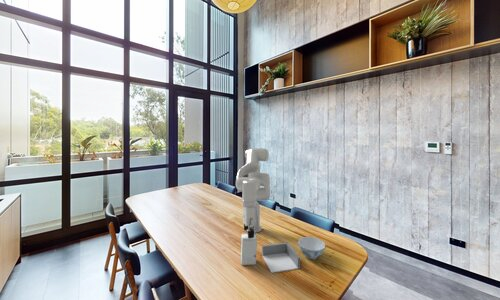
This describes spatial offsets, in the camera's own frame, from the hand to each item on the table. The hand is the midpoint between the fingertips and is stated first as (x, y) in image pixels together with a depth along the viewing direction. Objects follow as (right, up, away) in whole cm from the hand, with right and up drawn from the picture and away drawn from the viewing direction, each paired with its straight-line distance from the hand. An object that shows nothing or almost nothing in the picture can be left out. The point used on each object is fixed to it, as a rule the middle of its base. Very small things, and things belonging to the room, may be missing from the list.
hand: (248, 233), depth 111 cm
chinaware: (+37, -16, +8) cm, 41 cm away
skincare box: (0, -16, +2) cm, 16 cm away
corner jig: (+17, -16, +2) cm, 24 cm away
